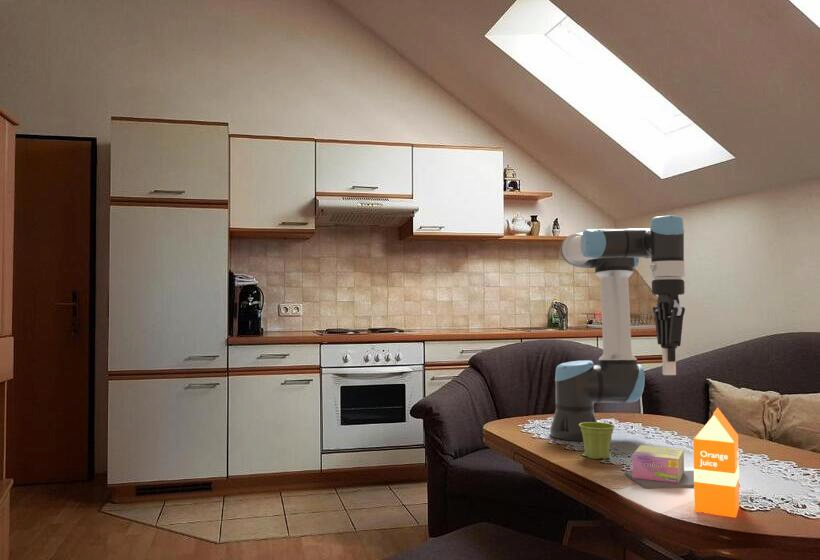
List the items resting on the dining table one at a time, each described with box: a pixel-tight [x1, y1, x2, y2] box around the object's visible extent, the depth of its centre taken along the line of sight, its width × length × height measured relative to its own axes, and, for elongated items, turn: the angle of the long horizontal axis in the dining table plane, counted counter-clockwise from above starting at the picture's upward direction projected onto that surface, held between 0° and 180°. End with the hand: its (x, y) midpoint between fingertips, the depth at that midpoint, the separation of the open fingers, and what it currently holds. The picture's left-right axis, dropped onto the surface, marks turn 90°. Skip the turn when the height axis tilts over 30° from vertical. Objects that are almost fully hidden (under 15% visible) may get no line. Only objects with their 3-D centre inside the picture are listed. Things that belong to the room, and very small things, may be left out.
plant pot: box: [579, 421, 616, 460], centre depth 180 cm, size 9×9×9 cm
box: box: [631, 444, 685, 484], centre depth 158 cm, size 10×6×12 cm
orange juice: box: [692, 407, 740, 518], centre depth 135 cm, size 8×9×20 cm
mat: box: [624, 470, 741, 489], centre depth 156 cm, size 12×22×1 cm, turn 93°
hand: (669, 374), depth 162 cm, fingers closed
